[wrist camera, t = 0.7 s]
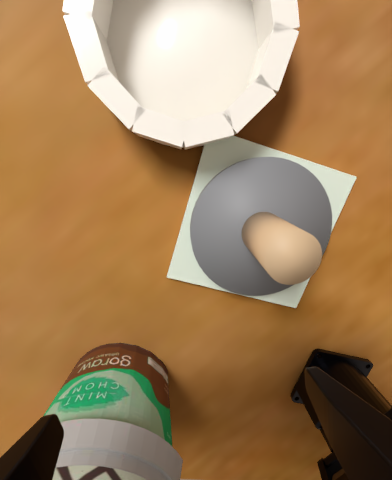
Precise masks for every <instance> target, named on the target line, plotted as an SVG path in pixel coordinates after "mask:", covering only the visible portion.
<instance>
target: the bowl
mask: <svg viewBox="0 0 392 480" xmlns="http://www.w3.org/2000/svg"><path fill="white" fill-rule="evenodd" d="M63 12H64V13H65V14H66V15H65V16H64V19H65V22H66V25H67V28H68V32H69V35H70V38H71V41H72V44H73V47H74V50H75V53H76V56H77V59H78V62H79V65H80V68H81V71H82V74H83V77H84V80H85V82H86V83H87V84H88V87H89V88H90V89H91V90H92V91H93V92H94V93H95V94H96V95H97V96H98V97H99V98H100V100H101V101H102V102H103V103H104V104H105V105H106V106H107V107H108V108H109V109H110V110H111V111H112V112H113V113H114V114H115V115H116V116H117V117H118V118H119V119H120V121H121V122H122V123H123V124H124V125H125V126H126V127H127V128H128V129H129V130H131V131H132V132H134V133H135V134H137V135H138V136H140V137H143V138H146V139H149V140H153V141H155V142H158V143H160V144H164V145H168V146H171V147H175V148H178V149H181V150H182V148H184V149H185V150H186V149H190V148H194V147H198V146H204V145H206V144H210V143H214V142H217V141H221V140H225V139H228V138H229V137H231V136H233V135H235V134H237V133H238V132H239V131H240V130H241V129H242V128H243V127H244V126H245V125H246V124H247V123H248V122H249V121H250V120H251V119H252V118H253V117H254V116H255V115H256V114H257V113H258V112H259V111H260V110H261V109H262V108H263V107H264V106H265V105H266V104H267V103H268V102H269V101H270V100H271V99H272V98H273V97H274V96H275V95H276V94H275V93H277V92H278V91H279V88H280V85H281V82H282V79H283V76H284V74H285V71H286V68H287V65H288V62H289V59H290V56H291V53H292V50H293V47H294V45H295V42H296V39H297V36H298V33H299V31H297V29H298V28H299V27H300V26H299V15H298V3H297V0H64V5H63Z"/></svg>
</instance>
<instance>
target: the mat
mask: <svg viewBox="0 0 392 480" xmlns="http://www.w3.org/2000/svg"><path fill="white" fill-rule="evenodd" d="M256 157H279V158H284V159H288V160H291V161H293V162H296V163H298V164H300V165H301V166H303V167H305V168H306V169H308V170H309V171H310V172H311V173H312V174H314V175H315V177H316V178H317V179H318V180H319V181H320V183H321V184H322V186H323V187H324V189H325V191H326V193H327V195H328V198H329V201H330V205H331V210H332V229H331V232H332V230H333V227H334V225H335V223H336V221H337V219H338V217H339V214H340V212H341V210H342V208H343V206H344V204H345V201H346V199H347V197H348V195H349V193H350V191H351V188H352V186H353V184H354V182H355V180H356V178H357V177H355V176H352V175H349V174H346V173H343V172H341V171H338V170H335V169H332V168H329V167H326V166H323V165H320V164H317V163H314V162H311V161H308V160H305V159H302V158H299V157H296V156H293V155H290V154H287V153H284V152H281V151H278V150H275V149H272V148H269V147H266V146H263V145H260V144H257V143H254V142H251V141H248V140H245V139H242V138H239V137H236V136H231V137H229V138H228V139H225V140H221V141H217V142H214V143H210V144H206V145H204V148H203V151H202V155H201V158H200V162H199V165H198V169H197V172H196V176H195V179H194V183H193V186H192V190H191V193H190V197H189V200H188V204H187V207H186V211H185V214H184V218H183V221H182V225H181V228H180V232H179V235H178V239H177V242H176V246H175V249H174V253H173V256H172V260H171V263H170V267H169V270H168V274H167V278H171V279H176V280H180V281H184V282H188V283H192V284H197V285H201V286H205V287H209V288H213V289H217V290H222V291H226V292H230V291H228V290H226V289H223V288H222V287H220V286H218V285H217V284H215V283H214V282H213V281H212V280H211V279H209V278H208V276H207V275H206V274H205V273H204V272H203V270H202V269H201V268H200V266H199V264H198V262H197V260H196V258H195V256H194V253H193V250H192V244H191V238H190V222H191V216H192V211H193V208H194V206H195V203H196V201H197V199H198V197H199V195H200V193H201V192H202V190H203V189H204V187H205V186H206V185H207V184H208V183H209V181H210V180H211V179H212V178H213V177H214V176H216V175H217V174H218V173H219V172H220V171H222V170H224V169H225V168H227V167H228V166H230V165H232V164H234V163H237V162H239V161H242V160H245V159H250V158H256ZM309 279H310V278H309ZM309 279H307V280H305V281H304V282H301V283H298V284H294V285H293V286H291V287H289V288H287V289H285V290H282V291H280V292H277V293H273V294H269V295H263V296H247V297H251V298H255V299H259V300H264V301H268V302H272V303H276V304H280V305H284V306H289V307H293V308H296V307H297V305H298V303H299V301H300V299H301V296H302V294H303V292H304V290H305V288H306V286H307V284H308V281H309ZM230 293H233V292H230ZM234 294H236V293H234ZM238 295H240V294H238ZM243 296H246V295H243Z"/></svg>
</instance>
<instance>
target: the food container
mask: <svg viewBox="0 0 392 480" xmlns="http://www.w3.org/2000/svg"><path fill="white" fill-rule="evenodd" d="M50 414H56V415H57V416H58V418H59V420H60V422H61V425H62V427H63V429H64V438H63V442H62V445H61V449H60V453H59V457H58V460H57V464H56V468H55V472H54V475H53V479H52V480H180V476H181V469H182V463H183V460H182V458H181V457H180V455H179V454H178V452H177V451H176V450H175V449H174V448H173V447H172V435H171V419H170V403H169V387H168V371H167V369H166V367H165V366H164V364H163V362H162V361H161V360H159V359H158V358H157V357H156V356H155V355H154V354H153V353H152V352H150V351H148V350H145V349H143V348H141V347H139V346H136V345H130V344H124V343H114V344H106V345H102V346H99V347H97V348H94V349H92V350H91V351H89V352H87V353H86V354H85V355H84V356H83V357H82V358H81V359H80V360H79V361H78V363H77V364H76V366H75V367H74V369H73V371H72V372H71V374H70V375H69V377H68V378H67V380H66V382H65V383H64V385H63V386H62V388H61V389H60V391H59V392H58V394H57V396H56V397H55V399H54V400H53V402H52V403H51V405H50V407H49V408H48V410H47V411H46V413H45V414H44V416H45V415H50Z"/></svg>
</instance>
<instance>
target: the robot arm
mask: <svg viewBox="0 0 392 480" xmlns="http://www.w3.org/2000/svg"><path fill="white" fill-rule="evenodd" d="M318 354H319V355H318ZM372 367H373V364H372V363H371V362H370V361H369V360H368V359H363V358H359V357H354V356H349V355H345V354H340V353H335V352H331V351H326V350H322V349H315V350H314V351H313V352H312V354H311V356H310V358H309V360H308V362H307V364H306V366H305V368H304V370H303V372H302V374H301V376H300V378H299V379H298V381H297V383H296V385H295V387H294V389H293V391H292V393H291V399H292V401H293V402H296V403H302V404H304V405H305V407H306V409H307V411H308V413H309V415H310V417H311V419H312V421H313V423H314V425H315V427H316V428H317V429H320V431H321V433H322V435H323V437H324V438H325V440H326V442H327V444H328V446H329V448H330V450H331V452H332V453H331V454H330V455H328V456H327V457H326V458H324V459H323V458H322V459H320V460H319V461H318V462H317V463H318V467H319V470H320V473H321V478H322V480H392V406H391V405H390V403H389V402H388V401H387V400H386V399H385V398H384V397H383V395H382V394H381V393H380V392H379V391H378V390H377V389H376V387H375V386H374V385H373V384H372V383H371V382H370V381H369V379H368V378H367V375H368V374H369V372H370V370H371V369H372ZM63 438H64V429H63V427H62V425H61V422H60V420H59V418H58V416H57V415H56V414H50V415H45V416H43V417H42V418H40V419H39V420H38V421H37V422H36V423H35V424H34V425H33V426H32V427H31V428H30V429H29V430H28V431H27V432H26V433H25V434H24V435H23V436H22V437H21V438H20V439H19V440H18V441H17V442H16V443H15V444H14V445H13V446H12V447H11V448H10V449H9V450H8V451H7V452H6V453H5V454H4V455H3V456H2V457H1V458H0V480H52V479H53V475H54V472H55V468H56V464H57V460H58V457H59V453H60V449H61V445H62V442H63Z"/></svg>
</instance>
